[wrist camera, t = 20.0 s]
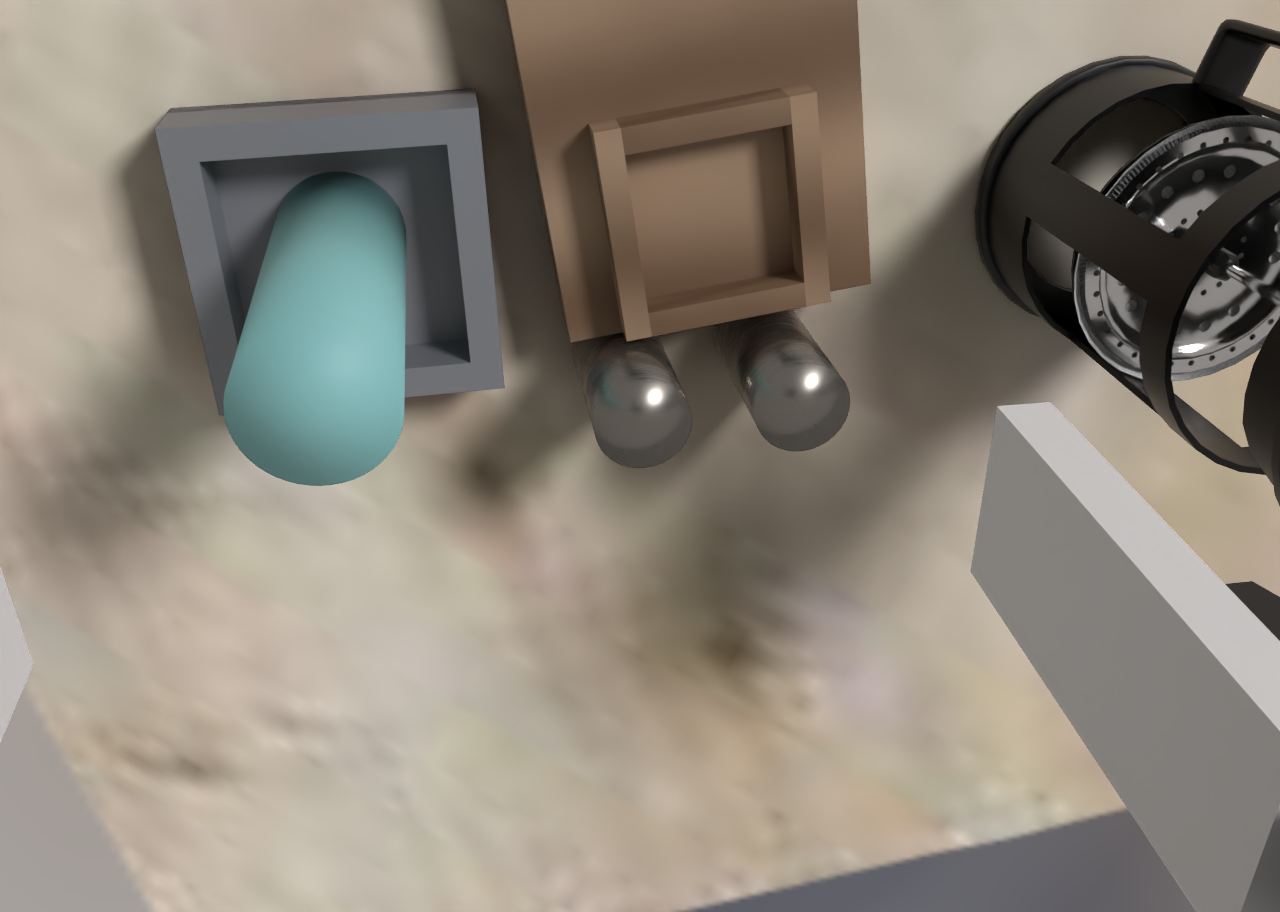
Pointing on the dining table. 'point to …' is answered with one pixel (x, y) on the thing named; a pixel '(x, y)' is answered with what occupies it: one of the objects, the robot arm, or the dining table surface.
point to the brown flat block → (694, 156)
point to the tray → (356, 143)
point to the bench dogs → (759, 366)
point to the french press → (1156, 234)
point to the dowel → (324, 336)
